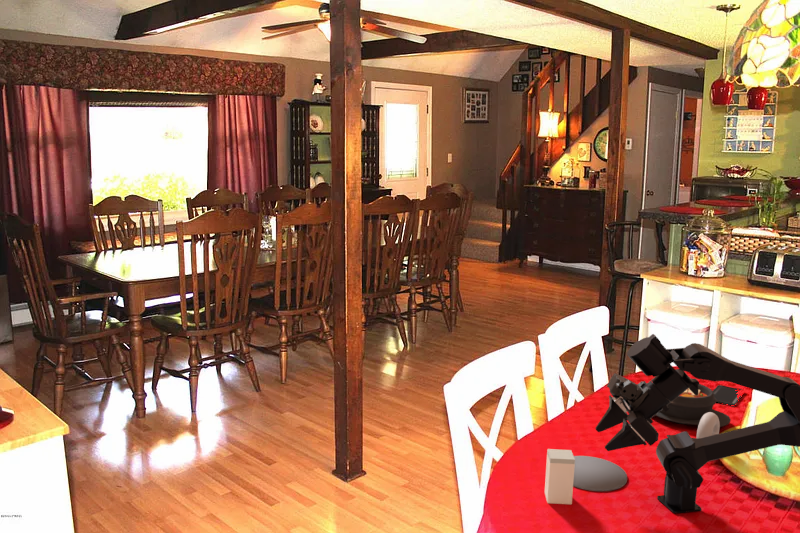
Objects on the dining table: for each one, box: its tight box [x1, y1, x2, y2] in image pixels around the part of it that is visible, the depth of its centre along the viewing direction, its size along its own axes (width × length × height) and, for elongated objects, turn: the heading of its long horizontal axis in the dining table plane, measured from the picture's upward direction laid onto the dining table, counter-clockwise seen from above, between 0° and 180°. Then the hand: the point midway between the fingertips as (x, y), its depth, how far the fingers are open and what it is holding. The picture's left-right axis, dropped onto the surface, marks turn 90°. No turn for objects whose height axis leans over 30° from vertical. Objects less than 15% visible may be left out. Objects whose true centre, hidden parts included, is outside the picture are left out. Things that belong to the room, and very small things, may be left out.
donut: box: [696, 412, 721, 439], centre depth 174 cm, size 10×3×10 cm, turn 141°
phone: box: [712, 384, 742, 405], centre depth 213 cm, size 8×1×15 cm
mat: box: [573, 455, 628, 492], centre depth 162 cm, size 16×16×1 cm
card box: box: [544, 448, 575, 505], centre depth 150 cm, size 5×4×10 cm
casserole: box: [655, 383, 732, 428], centre depth 196 cm, size 25×19×8 cm
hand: (601, 439), depth 148 cm, fingers open, 9 cm apart
